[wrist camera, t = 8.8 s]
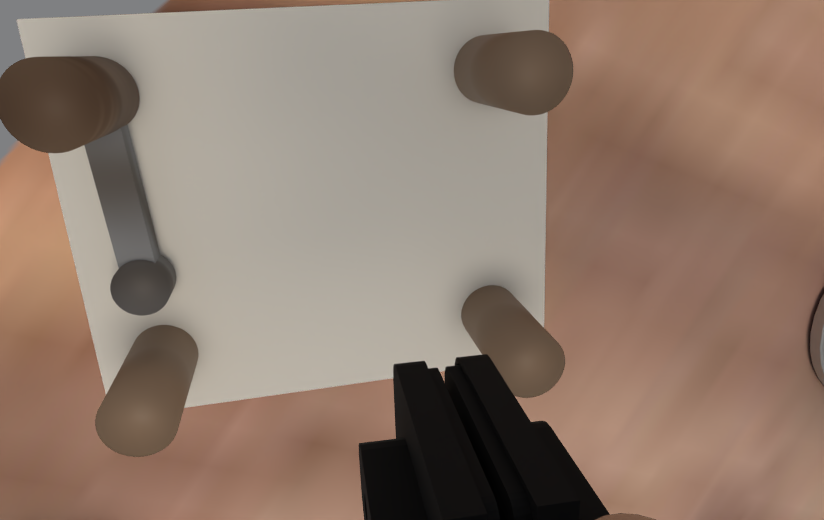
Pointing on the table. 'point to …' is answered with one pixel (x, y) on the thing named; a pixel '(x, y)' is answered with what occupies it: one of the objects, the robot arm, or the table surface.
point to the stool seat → (320, 199)
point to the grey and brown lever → (94, 157)
